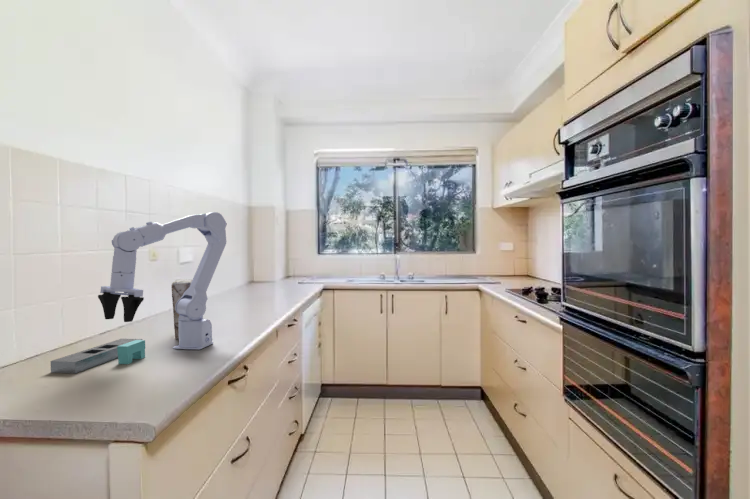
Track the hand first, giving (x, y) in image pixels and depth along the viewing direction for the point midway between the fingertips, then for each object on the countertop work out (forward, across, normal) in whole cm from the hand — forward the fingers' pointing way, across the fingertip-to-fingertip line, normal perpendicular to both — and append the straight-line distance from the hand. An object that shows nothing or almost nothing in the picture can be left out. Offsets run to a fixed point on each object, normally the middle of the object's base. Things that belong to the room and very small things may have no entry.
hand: (118, 320), depth 115 cm
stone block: (+9, -6, +31) cm, 33 cm away
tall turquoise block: (+11, +4, +2) cm, 12 cm away
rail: (+12, -6, 0) cm, 13 cm away
